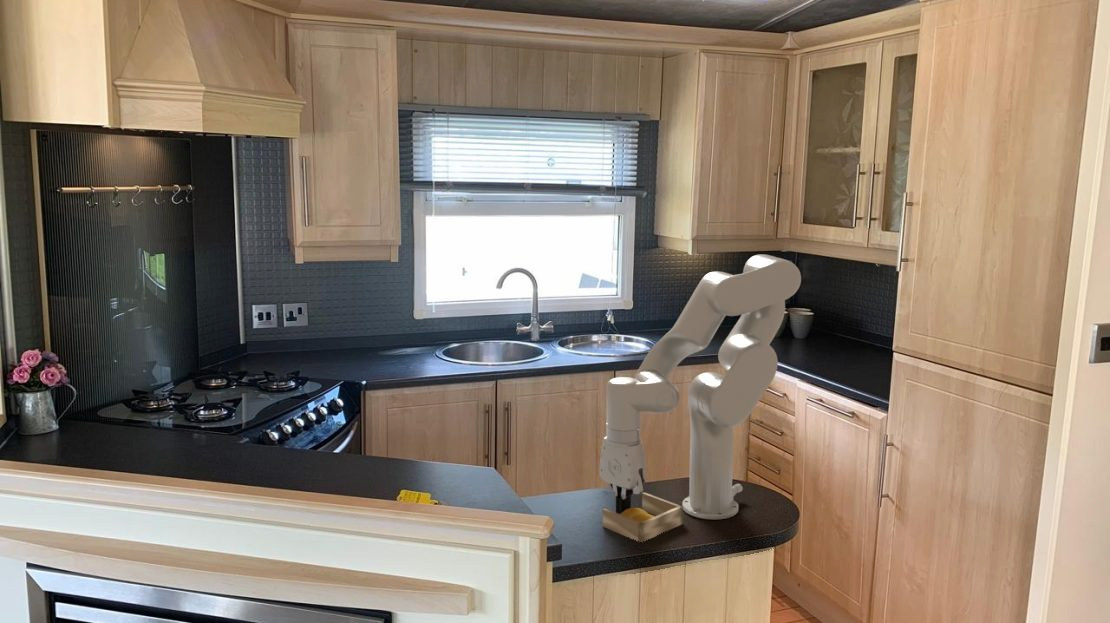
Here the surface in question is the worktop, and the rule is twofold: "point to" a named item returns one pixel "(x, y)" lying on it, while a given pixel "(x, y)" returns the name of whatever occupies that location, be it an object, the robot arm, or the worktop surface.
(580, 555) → the worktop surface
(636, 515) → the bread roll
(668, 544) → the worktop surface
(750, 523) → the worktop surface
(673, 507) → the holder
